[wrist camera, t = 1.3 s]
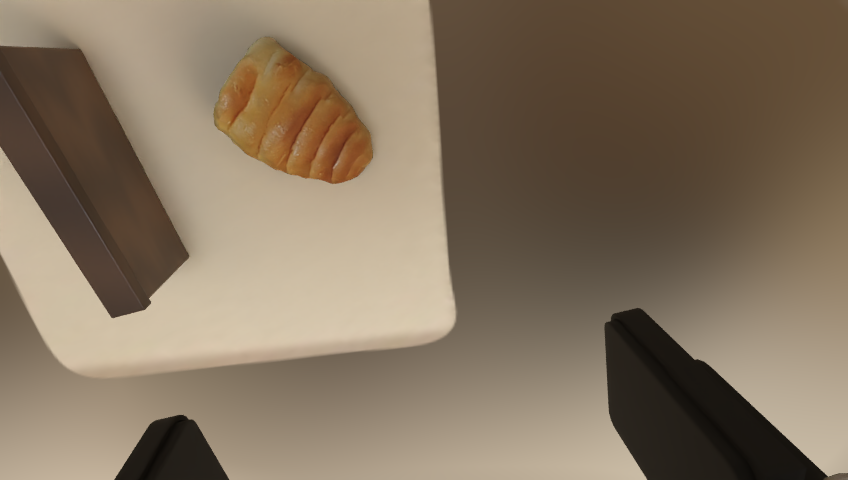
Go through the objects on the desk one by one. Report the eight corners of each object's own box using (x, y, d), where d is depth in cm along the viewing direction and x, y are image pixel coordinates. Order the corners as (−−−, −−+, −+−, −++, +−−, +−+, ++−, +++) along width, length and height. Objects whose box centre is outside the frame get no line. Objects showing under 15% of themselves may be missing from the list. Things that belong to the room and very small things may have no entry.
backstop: (3, 65, 25) (-124, 67, 19) (82, 43, 25) (-20, 38, 19) (129, 275, 31) (64, 331, 24) (193, 258, 31) (145, 310, 24)
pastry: (394, 120, 28) (395, 129, 25) (341, 202, 30) (335, 221, 26) (262, 28, 25) (242, 24, 22) (212, 124, 27) (187, 134, 24)
